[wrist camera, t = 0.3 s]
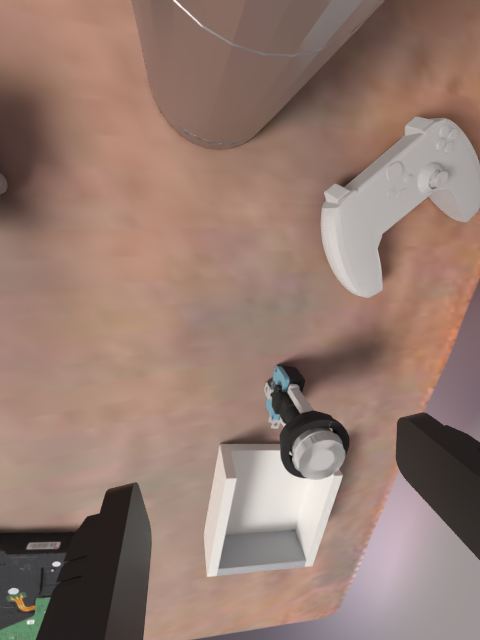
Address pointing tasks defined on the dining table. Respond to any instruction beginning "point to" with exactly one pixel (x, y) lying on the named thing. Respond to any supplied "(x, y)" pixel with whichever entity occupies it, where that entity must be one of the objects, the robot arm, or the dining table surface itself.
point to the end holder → (263, 512)
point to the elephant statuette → (3, 184)
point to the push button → (304, 429)
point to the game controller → (397, 197)
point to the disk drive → (28, 580)
